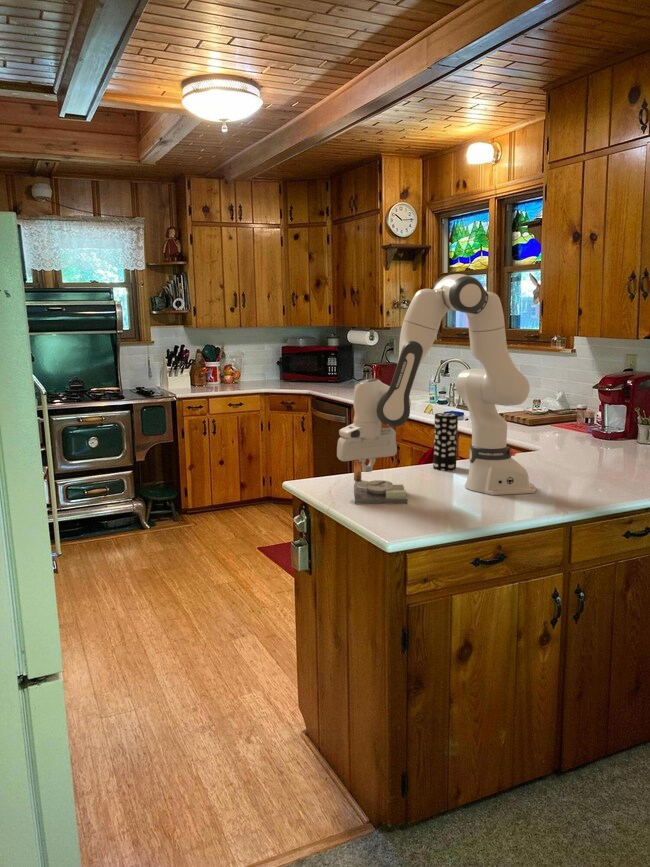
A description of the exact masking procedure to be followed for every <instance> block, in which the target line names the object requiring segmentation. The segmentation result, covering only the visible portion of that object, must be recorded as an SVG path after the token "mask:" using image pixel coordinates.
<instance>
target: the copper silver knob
mask: <svg viewBox="0 0 650 867" xmlns="http://www.w3.org/2000/svg"><path fill="white" fill-rule="evenodd" d="M353 481H354V484H355V486H359V487H365V488H367V492H368V493H371V494H376V495H385V494H386V490H393V485H394V484H393V482H392V481H388V480H382V479H381V480H380V479H379V480H369V481H368V480H364V479H363V480H362V462H361V461H359V460H354V462H353Z"/></svg>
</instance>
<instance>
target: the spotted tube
mask: <svg viewBox="0 0 650 867" xmlns="http://www.w3.org/2000/svg"><path fill="white" fill-rule="evenodd" d="M458 426H459V414H457V413H453V412H451V413H450V412H437V413H435V414H434V433H433V434H434V435H433V436H434V437H433V459H432V460H433V465H432V467H433V469H434V470H436V469H437V470H436V471H441V470H443V471H442V472H448V471H449V472H450V471H455V470H457V459H458V458H457V454H458V452H457V451H458V429H459V427H458Z"/></svg>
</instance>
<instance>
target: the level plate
mask: <svg viewBox="0 0 650 867" xmlns="http://www.w3.org/2000/svg"><path fill="white" fill-rule="evenodd" d="M353 494H354V504H359V505H361V504H363V505H365V504H366V505H367V504H368V505H374V504H375V505H408V503H409V502H408V496H407V492H406V489H405V487H404V485H403V484H393V490H386V494H385V495H376V494H371V493H368V492H367V488H365V487H359V486H355V483H354V484H353Z"/></svg>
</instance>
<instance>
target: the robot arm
mask: <svg viewBox="0 0 650 867" xmlns="http://www.w3.org/2000/svg"><path fill="white" fill-rule="evenodd" d="M449 311H453V312H460V313H465V315H466V317H467V321H468V333H469V335H468V336H469V347H470V353H471V354H472V356H473V357H474V359H476V360H477V361H478V362H480V364H481V366H482V367H483V368H480V367H478V368H477V367H475V368H468V369H465V370H462V371H461V372H459V373H458V376H456V380H455V390H456V394H457V395H458V396H459V397H460V398H461V399H462V400H463V401H464V403H465V405H466V408H467V409H468V412H469V415H470V419H471V443H470V447H469V470H468V474H467V478H466V482H465V483H464V487H465V488H466V489H468V490H471V491H473V492H479V493H484V494H487V495H491V496H497V495H498V496H499V495H500V496H501V495H515V494H516V495H518V494H520V495H521V494H534V493H536V491H537V489H536V485H535V484H534V483H532V482H530V480H529V477H530V476H529V474H528V471H527V469H525V468H526V467H524V466H522V465H521V464H520V463H519V462H518V461H516V460H515V459H514V458H512V457H514V456H516V455H517V451H516V450H515V449H514V448H511V447H510V446H508V445H507V441H508V440H507V439H508V438H507V437H508V423H507V420H505V418H504V417H503V416H501V414H500V413H499V412H498V410H497V408H496V407H497V406H503V407H507V406H508V407H510V406H511V407H513V406H518V405H522V404H523V403H524V402H525V401H526V400H527V398H528V397H529V394H530V383H529V380H528V378H527V377H526V376H525V375H524V374H523V373H522V372H521V371H520V370H519V369H518V368H517V367H516V365H515V364H514V362H513V360H512V358H511V356H510V353H509V350H508V344H507V335H506V326H505V316H504V310H503V306H502V302H501V299H500V297H499V295H498V294H497V293H495V292H492V291H486V289H485V288H484V286H483V284H482V283H481V281H480V280H478V279H477V278H475V277H474V276H472V275H471V276H470V275H467V274H463V273H448V274H445V275H443V276H441V277H440V278H438V279H437V281H436V282H435V283H434V284H432V286H431V287H430V288H423V289H420V290H417V292H415V294H414V296H413V297H412V299H411V302H410V303H409V306H408V308H407V310H406V313H405V315H404V318H403V322H402V324H401V330H400V334H399V343H398V344H399V345H398V360H397V364H396V367H395V371H394V374H393V377H392V380H391V383H390V385H388V384H386V383H383V382H382V381H381V380H380V379H379V378H367V379H363V380H360V381H359V382H357V383H356V385H355V386H354V390H353V391H354V393H353V410H354V416H353V423H351V424H349V425H346V426H345V427H342V428H341V429H339V430H338V433H339V436H340V437H339V438H338V439H337V445H336V457H337V458H338V460H340V461H341V462H349V461H350V462H351V461H361V462H362V470H361V472H362V473H370V472H371V473H372V472H373V466H374V464H375V463H376V460H377V458H385V457H394V456H396V455H397V452H398V449H397V440H396V437H397V432H396V430H395V428H397V427H401V426H402V425H404V424H405V423H406V422H407V421H408V420H409V417H410V414H411V404H412V402H411V398H410V396H411V395H410V394H411V390H412V387H413V386H414V385H413V384H414V382H415V378H416V376H417V372H418V369H419V367H420V365H421V363H422V362H423V360H425V357H426V356H427V354H428V353H429V351H430V350H431V348H432V347H433V344H434V342H435V340H436V337H437V335H438V333H439V331H440V330H439V329H440V325H441V322H442V320H443V318H444V317H445V315H446V314H447V313H448V312H449ZM496 405H497V406H496ZM382 424H383V425H384V426H386V427H382ZM387 426H388V427H387ZM367 459H368V461H369V462H368V464H367V465H366V462H367Z"/></svg>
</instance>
